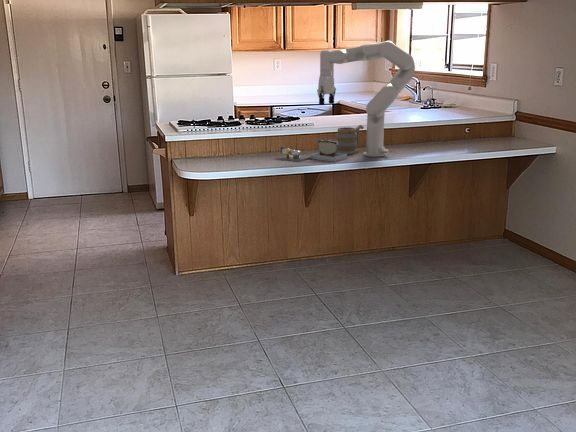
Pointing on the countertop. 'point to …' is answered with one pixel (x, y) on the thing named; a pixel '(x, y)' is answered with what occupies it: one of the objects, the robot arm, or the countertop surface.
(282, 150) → the crank lever
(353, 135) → the tankard
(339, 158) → the tray
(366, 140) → the robot arm
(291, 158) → the crank base
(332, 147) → the food container
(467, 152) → the countertop surface
